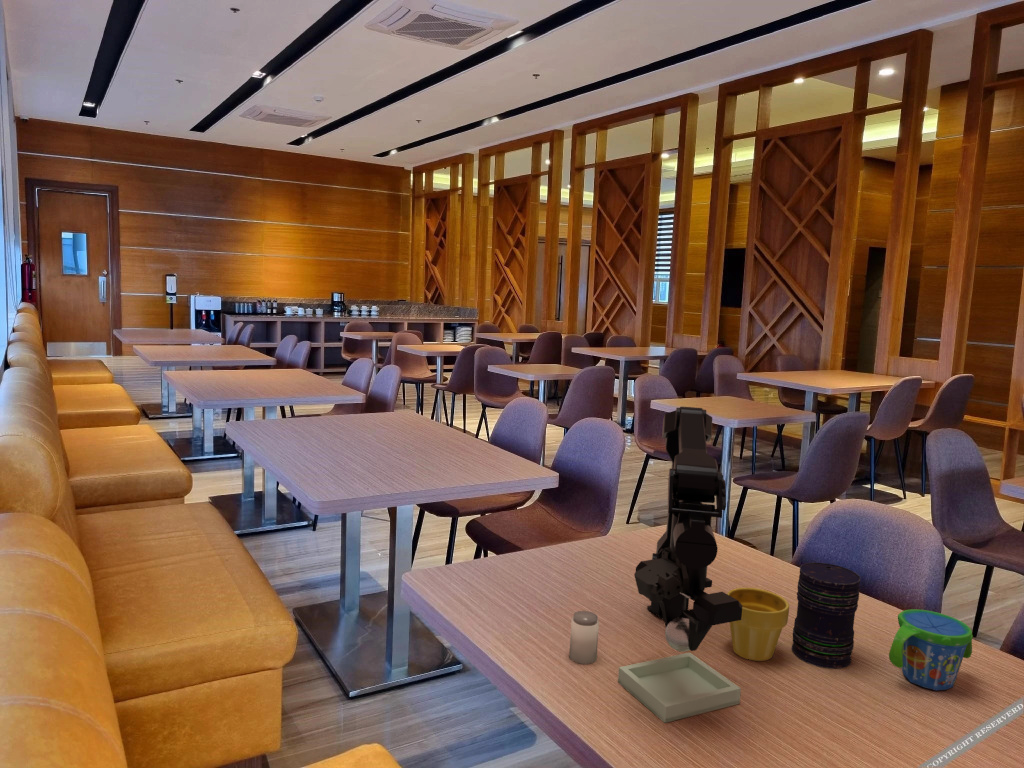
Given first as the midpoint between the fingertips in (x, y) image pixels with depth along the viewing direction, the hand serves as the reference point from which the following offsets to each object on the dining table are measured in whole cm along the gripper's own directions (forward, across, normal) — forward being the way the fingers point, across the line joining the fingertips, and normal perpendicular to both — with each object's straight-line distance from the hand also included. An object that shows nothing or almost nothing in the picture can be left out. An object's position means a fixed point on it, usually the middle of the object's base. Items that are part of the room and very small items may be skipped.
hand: (681, 642), depth 116 cm
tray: (+8, 0, 0) cm, 8 cm away
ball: (+1, 0, 0) cm, 1 cm away
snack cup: (+8, +12, +42) cm, 45 cm away
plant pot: (+8, -6, +21) cm, 23 cm away
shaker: (+8, -15, -8) cm, 19 cm away
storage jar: (+8, -1, +32) cm, 33 cm away
